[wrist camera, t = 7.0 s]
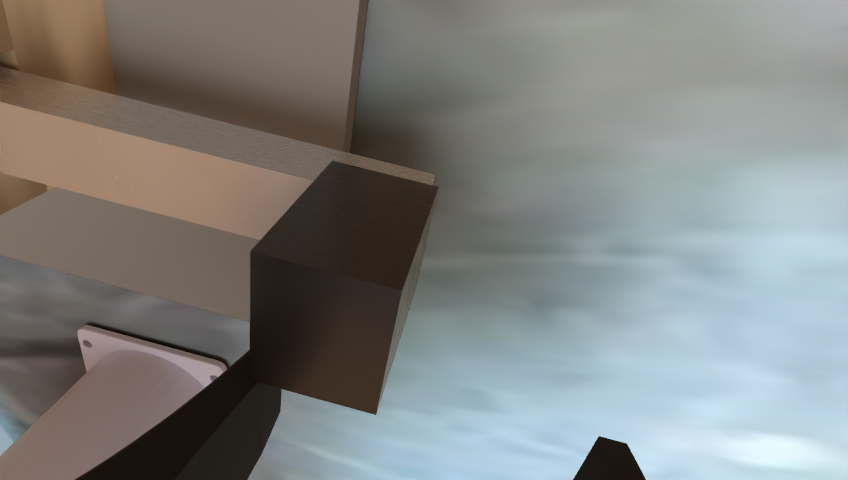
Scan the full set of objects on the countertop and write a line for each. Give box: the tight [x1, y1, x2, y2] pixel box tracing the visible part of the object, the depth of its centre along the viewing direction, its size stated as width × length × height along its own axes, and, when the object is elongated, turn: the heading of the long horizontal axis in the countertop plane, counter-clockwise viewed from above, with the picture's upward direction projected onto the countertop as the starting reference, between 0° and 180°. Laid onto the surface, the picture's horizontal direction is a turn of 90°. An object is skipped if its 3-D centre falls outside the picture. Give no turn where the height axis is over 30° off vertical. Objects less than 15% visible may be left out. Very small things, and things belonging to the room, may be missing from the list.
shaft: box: [0, 66, 439, 415], centre depth 11 cm, size 3×15×6 cm, turn 79°
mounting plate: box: [0, 0, 368, 322], centre depth 18 cm, size 20×18×1 cm
